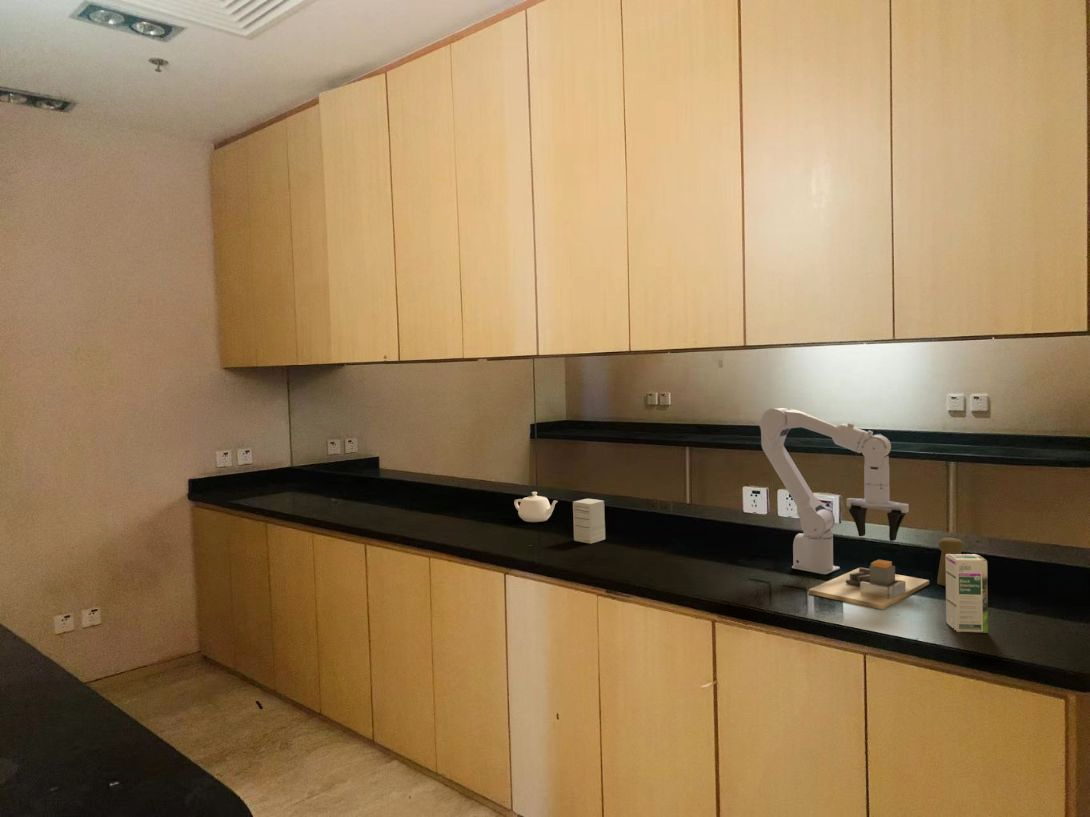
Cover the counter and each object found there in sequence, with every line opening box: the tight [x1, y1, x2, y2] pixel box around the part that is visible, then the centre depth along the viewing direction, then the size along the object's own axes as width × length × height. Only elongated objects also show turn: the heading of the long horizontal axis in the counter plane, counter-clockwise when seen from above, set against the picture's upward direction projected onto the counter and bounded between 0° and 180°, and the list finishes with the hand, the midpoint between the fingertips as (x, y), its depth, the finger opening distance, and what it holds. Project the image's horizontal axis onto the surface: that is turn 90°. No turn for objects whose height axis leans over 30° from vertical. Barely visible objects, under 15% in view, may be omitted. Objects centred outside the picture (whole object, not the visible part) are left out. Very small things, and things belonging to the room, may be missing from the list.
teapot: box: [513, 491, 558, 523], centre depth 268 cm, size 20×12×10 cm, turn 52°
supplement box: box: [572, 498, 606, 544], centre depth 232 cm, size 7×7×13 cm
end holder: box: [860, 579, 906, 599], centre depth 167 cm, size 7×8×2 cm
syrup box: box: [945, 553, 989, 634], centre depth 146 cm, size 6×6×14 cm
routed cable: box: [846, 578, 870, 586], centre depth 174 cm, size 8×8×1 cm
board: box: [808, 567, 930, 610], centre depth 173 cm, size 17×26×1 cm, turn 132°
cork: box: [936, 537, 964, 587], centre depth 175 cm, size 6×6×11 cm
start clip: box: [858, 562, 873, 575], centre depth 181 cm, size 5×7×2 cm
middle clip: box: [850, 572, 870, 582], centre depth 175 cm, size 4×3×2 cm
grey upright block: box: [869, 558, 896, 586], centre depth 168 cm, size 6×4×7 cm
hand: (877, 537), depth 182 cm, fingers open, 7 cm apart
